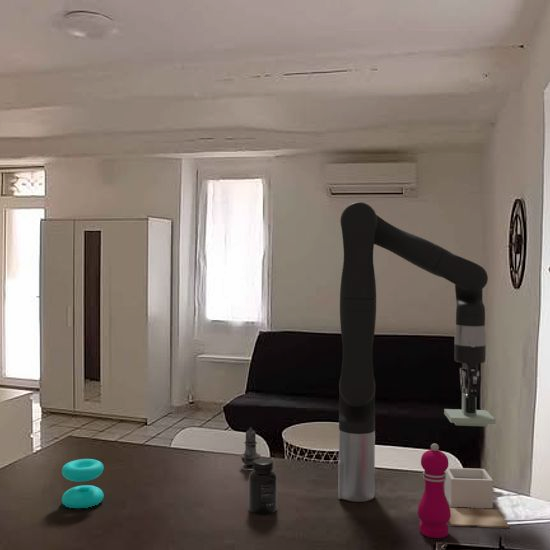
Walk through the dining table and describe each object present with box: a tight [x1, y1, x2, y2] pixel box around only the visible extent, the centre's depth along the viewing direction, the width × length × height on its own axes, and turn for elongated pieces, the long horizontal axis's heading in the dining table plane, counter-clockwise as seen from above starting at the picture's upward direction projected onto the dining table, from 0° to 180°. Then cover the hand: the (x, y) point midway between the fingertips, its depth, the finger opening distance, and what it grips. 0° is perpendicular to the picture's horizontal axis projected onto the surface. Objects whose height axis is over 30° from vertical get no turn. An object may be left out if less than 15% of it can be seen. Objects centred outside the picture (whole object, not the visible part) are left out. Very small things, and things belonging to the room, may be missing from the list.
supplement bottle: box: [248, 457, 278, 516], centre depth 158 cm, size 7×7×12 cm
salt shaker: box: [240, 426, 261, 469], centre depth 191 cm, size 6×6×12 cm
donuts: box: [61, 458, 105, 509], centre depth 162 cm, size 10×10×10 cm
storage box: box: [444, 467, 494, 509], centre depth 165 cm, size 10×9×7 cm
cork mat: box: [448, 507, 511, 529], centre depth 154 cm, size 13×10×1 cm
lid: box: [443, 392, 496, 427], centre depth 164 cm, size 11×10×7 cm
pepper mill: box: [417, 443, 451, 539], centre depth 146 cm, size 7×7×20 cm
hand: (468, 410), depth 164 cm, fingers closed on lid, 3 cm apart
